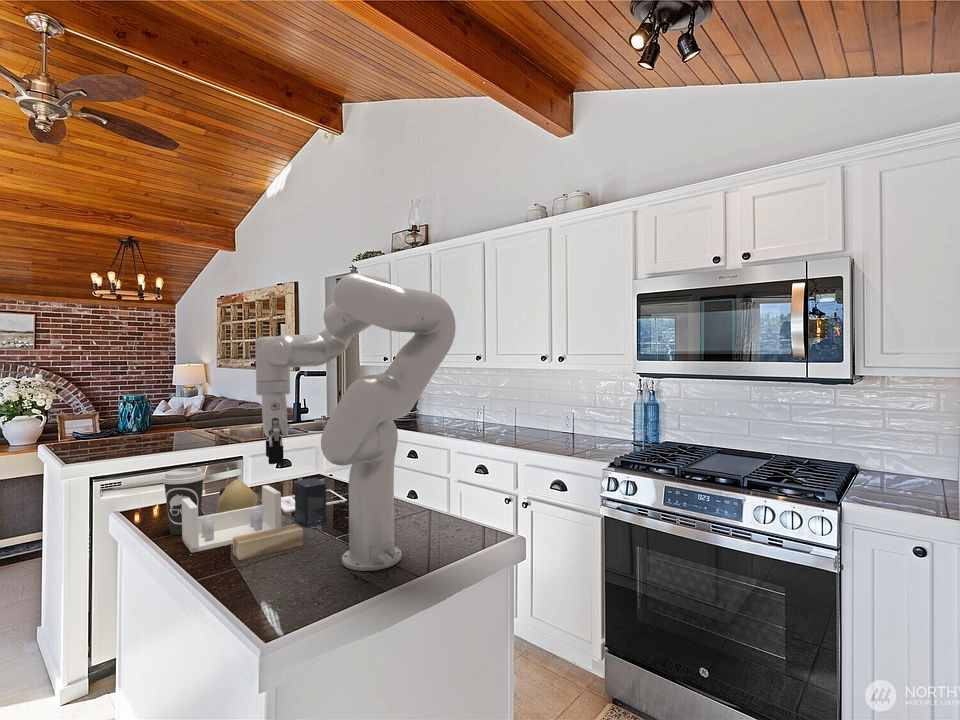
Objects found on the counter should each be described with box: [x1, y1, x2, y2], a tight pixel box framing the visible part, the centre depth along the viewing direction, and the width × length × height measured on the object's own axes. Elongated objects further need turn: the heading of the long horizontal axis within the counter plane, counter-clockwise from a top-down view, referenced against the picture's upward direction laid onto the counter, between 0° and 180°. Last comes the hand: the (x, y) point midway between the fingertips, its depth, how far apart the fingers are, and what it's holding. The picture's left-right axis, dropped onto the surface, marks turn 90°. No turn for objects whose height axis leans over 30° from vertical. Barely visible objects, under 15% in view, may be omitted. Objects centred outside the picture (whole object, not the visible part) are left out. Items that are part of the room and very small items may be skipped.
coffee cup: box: [161, 467, 206, 536], centre depth 134 cm, size 10×10×15 cm
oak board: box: [232, 523, 304, 561], centre depth 121 cm, size 5×14×4 cm, turn 129°
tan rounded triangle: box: [217, 479, 259, 513], centre depth 144 cm, size 10×12×11 cm
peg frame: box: [181, 484, 282, 554], centre depth 129 cm, size 10×20×10 cm, turn 130°
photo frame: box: [281, 489, 348, 513], centre depth 160 cm, size 15×1×18 cm
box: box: [294, 478, 327, 528], centre depth 140 cm, size 8×6×11 cm
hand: (274, 459), depth 126 cm, fingers open, 9 cm apart
